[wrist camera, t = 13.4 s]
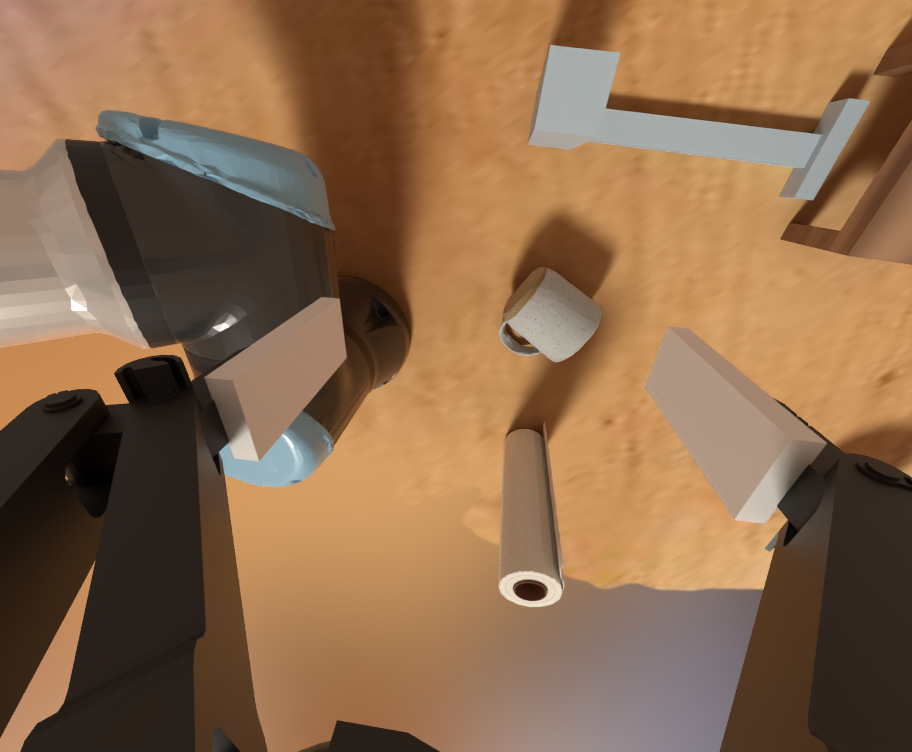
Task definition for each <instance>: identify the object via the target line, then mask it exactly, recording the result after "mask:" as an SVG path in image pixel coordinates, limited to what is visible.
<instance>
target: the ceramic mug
mask: <svg viewBox="0 0 912 752" xmlns="http://www.w3.org/2000/svg"><path fill="white" fill-rule="evenodd" d="M602 314H603V311H602V308H601V307H600V306H599V305H598V304H597V303H596V302H594V301H593V300H591V299H590V298H589V297H588V296H586V295H585V294H584V293H583V292H581V291H580V290H579V289H577V288H576V287H575V286H573V285H572V284H571V283H569V282H568V281H567V280H566V279H564V278H563V277H562V276H560V275H559V274H558V273H557V272H555V271H553V270H551V269H549V268H547V267H539V268H537V269H535V270H534V271H533V272H532V273H531V274H530V275H529V276H528V277H527V278H526V279H525V280H524V281H523V282H522V284H521V285H520V286H519V287H518V289H517V290H516V291H515V293H514V294H513V295H512V297H511V298H510V300H509V301H508V303H507V305H506V307H505V309H504V312H503V315H504V320H503V322H502V324H501V326H500V330H499V336H500V339H501V341H502V342H503V344H504V345H505V346H506V347H507V348H508V349H509V350H511V351H512V352H514V353H516V354H519V355H523V356H532V355H537V354H540V353H543V354H544V355H545V356H546V357H547V358H548V359H550V360H551V361H553V362H560V361H563V360H565V359H567V358H569V357H570V356H572V355H573V354H574V353H576V352H577V351H578V350H579V349H580V348H581V347H582V346H583V345H584V344H585V343H586V342H587V341H588V340H589V339H590V338H591V336H592V335H593V334H594V332H595V331H596V329H597V328H598V326H599V323H600V321H601V319H602ZM506 323H508V324H509V325H510V326H511V328H512V329H514V330H515V331H516V332H517V333H518V334H520V335H521V336H523V337H524V338H525V339H526V340H527V341H529V342H530V343H531V344H532V345H533V346H534V347H527V346H522V345H520V344H519V343H517V342H516V341H515V340H514V339H513V338H512V337H511V336H510V334H508V333H507V332H506V329H505V325H506Z"/></svg>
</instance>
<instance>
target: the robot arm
mask: <svg viewBox="0 0 912 752" xmlns="http://www.w3.org/2000/svg"><path fill="white" fill-rule="evenodd" d="M96 130H97V132H98V134H99V136H100V137H102V138H104V139H105V140H106V142H105V141H101V142H96V141H83V140H69V139H56V140H55V141H54V142H53V144H52V145H51V146H50V147H49V148H48V149H47V151H46V152H45V153H44V154H43V155H42V156H41V158H40V159H39V160H38V161H37V162H36V163H35V165H33V166H31V167H29V168H27V169H25V170H23V171H18V170H0V348H1V347H7V346H14V345H20V344H26V343H32V342H39V341H45V340H52V339H58V338H64V337H71V336H77V335H83V334H89V333H96V332H99V333H104V334H108V335H112V336H114V337H116V338H119V339H121V340H124V341H126V342H128V343H131V344H133V345H136V346H138V347H140V348H143V349H152V348H157V347H162V346H167V345H172V344H179V343H182V346H183V348H184V350H185V353H186V356H187V358H188V361H189V364H190V367H191V369H192V372H193V374H194V380H192V381H190V378H189V375H188V373H187V371H186V368H185V366H184V363H183V361H182V359H181V358H180V357H177V356H174V355H158V356H151V357H146V358H142V359H138V360H135V361H132V362H130V363H127V364H125V365H124V366H122V367H120V368H119V369H118V370H117V371H116V372H115V373H114V374H115V377H116V378H117V380H118V382H119V384H120V386H121V388H122V390H123V392H124V394H125V396H126V398H127V400H128V401H129V403H127V404H115V405H105V404H104V402H103V400H102V398H101V396H100V394H99V393H98V392H97V391H96V390H91V389H77V390H71V391H62V392H58V394H56V393H54V394H51V395H48V396H47V397H46V398H44V399H42V400H39V401H37V402H35V403H33V404H32V405H31V406H29V407H27V408H26V409H25V410H24V411H23V412H21V413H20V414H19V415H18V416H17V417H16V418H15V419H13V420H12V421H11V422H10V423H9V424H8V425H7V426H5V427H4V428H3V429H2V430H1V431H0V737H1V736H2V734H3V732H4V730H5V728H6V726H7V724H8V722H9V721H10V719H11V717H12V715H13V713H14V711H15V709H16V708H17V706H18V704H19V702H20V700H21V698H22V696H23V694H24V693H25V690H26V689H27V687H28V685H29V683H30V681H31V679H32V678H33V676H34V674H35V672H36V670H37V668H38V666H39V664H40V662H41V661H42V659H43V657H44V655H45V653H46V651H47V650H48V648H49V646H50V644H51V642H52V640H53V638H54V636H55V634H56V633H57V631H58V629H59V627H60V625H61V623H62V621H63V620H64V618H65V616H66V614H67V612H68V610H69V608H70V606H71V605H72V603H73V601H74V599H75V597H76V595H77V593H78V591H79V590H80V588H81V586H82V584H83V582H84V580H85V579H86V577H87V575H88V573H89V571H90V569H91V567H92V565H93V564H94V561H95V560H96V561H95V566H94V570H93V575H92V580H91V585H90V589H89V594H88V599H87V603H86V608H85V613H84V617H83V622H82V627H81V632H80V636H79V641H78V646H77V650H76V656H75V660H74V664H73V669H72V674H71V679H70V683H69V688H68V692H67V695H66V698H65V701H64V704H63V705H62V707H61V708H60V709H59V711H58V712H57V713H55V714H53V715H52V716H50V717H48V718H46V719H45V720H43V721H41V722H39V723H37V725H36V726H35V727H34V729H33V730H32V731H31V733H30V734H29V736H28V737H27V738H26V740H25V741H24V744H23V747H22V749H21V752H268V751H267V746H266V742H265V738H264V734H263V731H262V728H261V725H260V721H259V718H258V714H257V710H256V704H255V698H254V690H253V683H252V675H251V669H250V661H249V653H248V646H247V638H246V631H245V624H244V616H243V609H242V601H241V594H240V586H239V579H238V572H237V564H236V557H235V550H234V543H233V534H232V527H231V520H230V513H229V505H228V498H227V490H226V482H225V475H227V476H229V477H232V478H234V479H237V480H240V481H243V482H246V483H250V484H254V485H259V486H267V487H283V486H290V485H294V484H296V483H299V482H301V481H302V480H304V479H306V478H308V477H309V476H311V475H312V474H313V473H314V472H315V471H316V469H317V468H318V467H319V466H320V465H321V464H322V462H323V461H324V460H325V459H326V458H327V457H328V456H329V455H330V454H331V452H332V451H333V448H334V445H335V443H336V442H337V440H338V439H339V437H340V436H341V434H342V433H343V431H344V430H345V428H346V427H347V425H348V424H349V422H350V420H351V419H352V417H353V416H354V414H355V413H356V411H357V410H358V408H359V407H360V405H361V404H362V402H363V401H364V399H365V398H366V396H367V394H368V393H370V392H371V391H372V390H374V389H376V388H379V387H381V386H383V385H385V384H386V383H388V382H389V381H390V380H392V379H393V378H394V377H395V376H396V375H397V373H398V372H399V371H400V369H401V367H402V366H403V364H404V362H405V361H406V358H407V356H408V353H409V348H410V333H409V328H408V324H407V321H406V319H405V317H404V315H403V313H402V311H401V309H400V308H399V306H398V305H397V304H396V302H395V301H394V300H393V299H392V298H391V297H390V296H389V295H388V294H387V293H386V292H384V291H383V290H382V289H380V288H379V287H377V286H376V285H374V284H372V283H370V282H368V281H365V280H363V279H359V278H355V277H349V276H338V273H337V263H336V253H335V243H334V233H333V231H335V225H334V224H333V222H332V220H331V215H330V209H329V204H328V197H327V191H326V184H325V180H324V177H323V175H322V173H321V171H320V169H319V168H318V167H317V165H316V164H315V163H314V162H313V161H312V160H311V159H310V158H308V157H307V156H305V155H304V154H302V153H300V152H297V151H295V150H292V149H288V148H285V147H282V146H278V145H275V144H271V143H268V142H264V141H260V140H256V139H252V138H248V137H244V136H240V135H236V134H232V133H228V132H223V131H219V130H215V129H210V128H205V127H201V126H196V125H191V124H187V123H182V122H176V121H171V120H161V119H158V118H152V117H145V116H140V115H137V114H133V113H128V112H121V111H113V110H106V111H102V112H101V113H100V114H99V115H98V125H97V126H96ZM645 388H646V390H647V391H648V393H649V394H650V396H651V397H652V399H653V400H654V402H655V403H656V405H657V406H658V408H659V409H660V410H661V412H662V413H663V415H664V416H665V418H666V419H667V421H668V422H669V424H670V425H671V427H672V428H673V430H674V431H675V433H676V434H677V436H678V437H679V439H680V440H681V442H682V443H683V445H684V446H685V448H686V449H687V451H688V452H689V454H690V455H691V457H692V458H693V460H694V461H695V463H696V464H697V466H698V467H699V468H700V470H701V471H702V473H703V474H704V476H705V477H706V479H707V480H708V482H709V483H710V485H711V486H712V488H713V489H714V491H715V492H716V494H717V495H718V497H719V498H720V500H721V501H722V503H723V504H724V506H725V507H726V509H727V510H728V512H729V513H730V515H731V516H732V518H733V519H734V520H739V521H748V522H756V523H764V524H765V523H766V521H767V520H768V519H769V518H770V516H771V515H772V514H773V512H774V511H775V510H776V509H777V507H778V508H779V509H780V511H781V512H782V513H783V514H784V515H785V517H786V518H787V519H788V521H787V522H786V523H785V524H784V526H783V527H782V528H781V529H780V531H779V532H778V533H777V534H776V535H775V537H774V538H773V539H772V540H771V541H770V543H769V544H768V545H767V546H766V548H765V549H766V550H768V551H771V550H772V549H773V548H775V550H774V553H773V557H772V561H771V564H770V568H769V572H768V575H767V579H766V583H765V587H764V590H763V594H762V598H761V601H760V605H759V609H758V612H757V616H756V620H755V623H754V627H753V631H752V635H751V639H750V642H749V645H748V649H747V653H746V657H745V660H744V664H743V668H742V671H741V675H740V679H739V682H738V686H737V690H736V693H735V697H734V701H733V705H732V708H731V712H730V715H729V720H728V723H727V727H726V730H725V734H724V738H723V741H722V745H721V749H720V752H912V478H911V477H910V476H909V475H907V474H905V473H904V472H902V471H900V470H899V469H897V468H895V467H893V466H891V465H889V464H886V463H884V462H882V461H880V460H877V459H873V458H870V457H867V456H864V455H858V454H852V453H850V454H845V453H844V452H842V451H841V450H840V449H839V448H838V447H836V446H835V445H834V444H833V443H831V442H830V441H829V440H828V439H827V438H825V437H824V436H823V435H822V434H820V433H819V432H818V431H817V430H815V429H814V428H813V427H812V426H808V423H807V422H806V421H804V420H803V419H802V418H801V417H797V414H796V413H795V412H793V411H792V410H791V409H790V408H788V407H787V406H786V405H785V404H783V403H782V402H780V401H778V400H776V399H774V398H772V397H771V396H769V395H768V394H767V393H766V392H765V391H763V390H762V389H761V388H760V387H759V386H757V385H756V384H755V383H754V382H753V381H751V380H750V379H749V378H748V377H746V376H745V375H744V374H743V373H742V372H740V371H739V370H738V369H737V368H736V367H734V366H733V365H732V364H731V363H730V362H728V361H727V360H726V359H725V358H723V357H722V356H721V355H720V354H719V353H717V352H716V351H715V350H714V349H713V348H711V347H710V346H709V345H708V344H707V343H705V342H704V341H703V340H702V339H700V338H699V337H698V336H697V335H696V334H694V333H693V332H692V331H691V330H690V329H688V328H677V327H667V330H666V333H665V335H664V338H663V340H662V343H661V346H660V348H659V351H658V353H657V356H656V359H655V361H654V364H653V366H652V369H651V372H650V374H649V377H648V379H647V382H646V385H645ZM224 474H225V475H224ZM65 475H66V476H67V478H68V480H67V481H66V479H65ZM299 752H439V751H438V750H436V749H434V748H433V747H431V746H429V745H428V744H426V743H424V742H423V741H420V740H419V739H417V738H416V737H414V736H412V735H411V734H409V733H406V732H400V731H395V730H388V729H384V728H378V727H372V726H366V725H361V724H355V723H350V722H344V721H338V720H337V722H336V726H335V729H334V732H333V736H332V739H331V741H328V742H323V743H319V744H317V745H314V746H311V747H309V748H306V749H303V750H301V751H299Z"/></svg>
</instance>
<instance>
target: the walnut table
mask: <svg viewBox="0 0 912 752" xmlns="http://www.w3.org/2000/svg"><path fill="white" fill-rule="evenodd" d="M910 72H912V42H909V43H906V44H903V45H900V46H897V47H894V48H891V49H888V50H887V52H886V53H885V55H884V57H883V59H882V60H881V62H880V64H879V66H878V68H877V69H876V71H875V73H874V75H881V76H890V77H895V76H899V75H903V74H906V73H910ZM781 240H785V241H789V242H794V243H798V244H802V245H806V246H810V247H814V248H818V249H823V250H827V251H831V252H835V253H839V254H843V255H847V256H854V257H861V258H868V259H876V260H883V261H890V262H897V263H904V264H911V265H912V120H911V122H910V123H909V125H908V126H907V128H906V129H905V131H904V133H903V134H902V136H901V137H900V139H899V140H898V142H897V143H896V145H895V147H894V148H893V150H892V151H891V153H890V154H889V156H888V158H887V159H886V161H885V162H884V164H883V165H882V167H881V168H880V170H879V172H878V173H877V175H876V176H875V178H874V179H873V181H872V182H871V184H870V186H869V187H868V189H867V190H866V192H865V193H864V195H863V196H862V198H861V200H860V201H859V203H858V204H857V206H856V207H855V209H854V210H853V212H852V214H851V215H850V217H849V218H848V220H847V221H846V223H845V224H844V226H843V228H842V229H841V231H837V230H831V229H826V228H820V227H814V226H808V225H801V224H794V223H789V225H788V227H787V228H786V230H785V232H784V234H783V236H782V237H781Z"/></svg>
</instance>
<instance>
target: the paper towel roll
mask: <svg viewBox="0 0 912 752" xmlns="http://www.w3.org/2000/svg"><path fill="white" fill-rule="evenodd" d="M543 432H544V439H543V438H542V436H541V435H540V434H539V433H537V432H535V431H534V430H530V429H518V430H515V431H513V432H511V433H510V434H509V435H508V436H507V437H506V438H505V442H504V450H503V477H502V504H501V531H500V558H499V589H500V592H501V594H502V595H503V596H505V597H506V598H507V599H508V600H510V601H512V602H514V603H516V604H519V605H523V606H528V607H543V606H547V605H551V604H553V603H555V602H556V601H558V600H559V599H560V597H561V595H562V592H563V588H564V577H563V569H562V567H563V558H562V551H561V543H560V535H559V527H558V519H557V511H556V503H555V496H554V488H553V480H552V472H551V464H550V456H549V448H548V440H547V433H546V425H545V421H544V424H543Z"/></svg>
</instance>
